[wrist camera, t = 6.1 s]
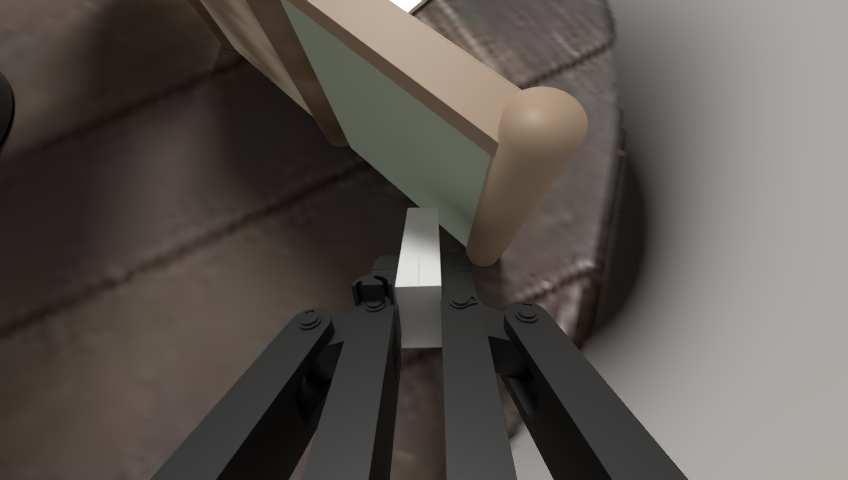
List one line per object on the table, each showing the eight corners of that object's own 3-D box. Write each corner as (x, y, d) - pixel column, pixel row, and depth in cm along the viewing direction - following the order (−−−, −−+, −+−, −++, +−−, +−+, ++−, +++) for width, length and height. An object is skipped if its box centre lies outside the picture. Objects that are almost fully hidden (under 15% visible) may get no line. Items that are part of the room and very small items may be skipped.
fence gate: (345, 152, 24) (237, -57, 11) (367, 132, 24) (287, -91, 11) (485, 274, 20) (552, 175, 8) (507, 249, 21) (605, 118, 8)
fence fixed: (214, 42, 28) (19, -213, 15) (238, 24, 28) (68, -239, 15) (341, 153, 24) (224, -60, 11) (366, 130, 25) (282, -100, 12)
